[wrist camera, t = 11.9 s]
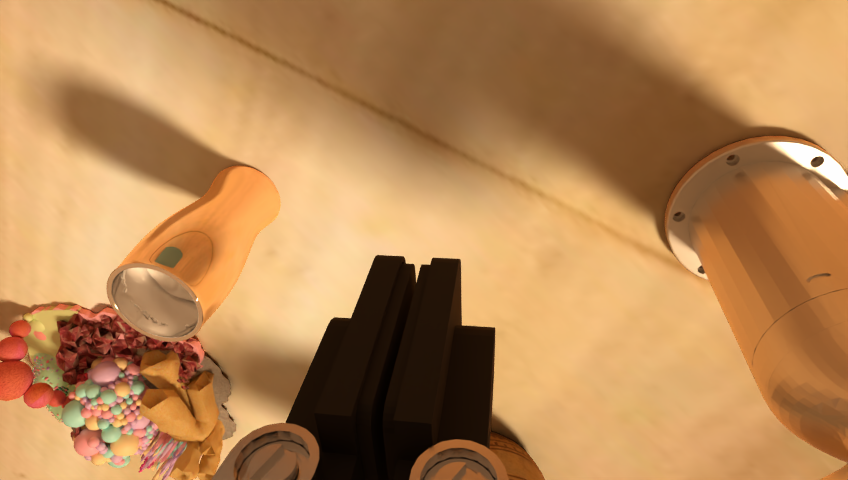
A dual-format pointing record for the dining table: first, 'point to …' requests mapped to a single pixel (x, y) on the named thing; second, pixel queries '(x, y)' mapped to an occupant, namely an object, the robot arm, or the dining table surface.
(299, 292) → the dining table surface
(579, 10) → the dining table surface
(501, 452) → the ceramic vessel
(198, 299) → the beer glass
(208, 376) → the pastel sphere sculpture
